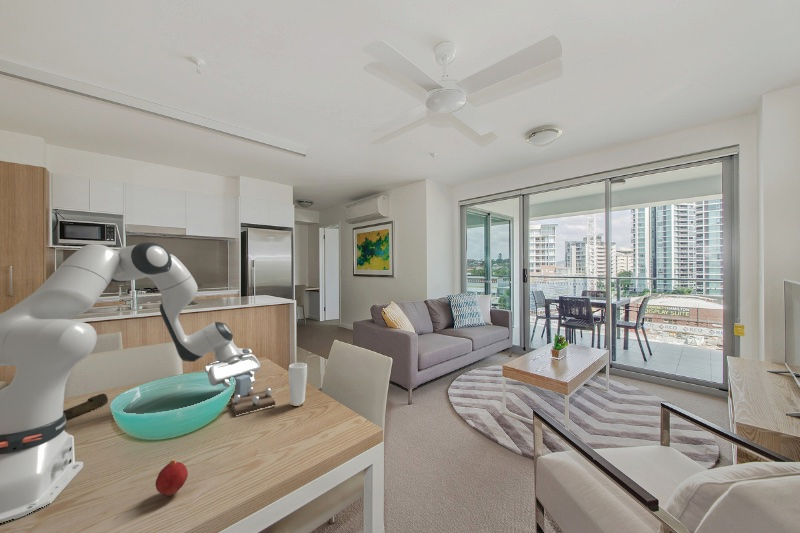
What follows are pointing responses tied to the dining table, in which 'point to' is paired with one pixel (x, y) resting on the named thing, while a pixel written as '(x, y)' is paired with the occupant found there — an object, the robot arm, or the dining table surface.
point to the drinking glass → (297, 382)
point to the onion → (171, 478)
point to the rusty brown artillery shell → (86, 406)
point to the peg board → (252, 401)
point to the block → (242, 384)
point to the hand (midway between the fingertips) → (243, 386)
